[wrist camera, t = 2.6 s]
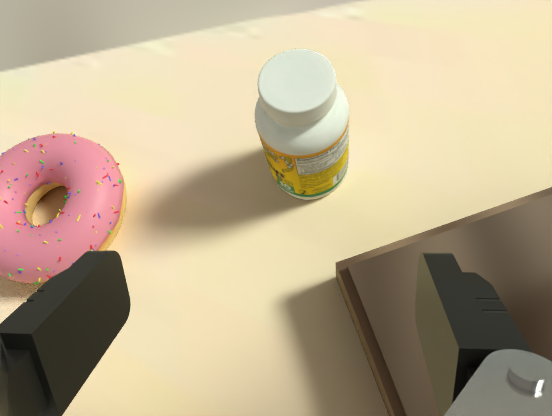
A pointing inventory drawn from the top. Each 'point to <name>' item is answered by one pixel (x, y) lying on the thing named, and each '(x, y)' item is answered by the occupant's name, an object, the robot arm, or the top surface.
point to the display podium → (471, 258)
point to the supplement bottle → (303, 123)
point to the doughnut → (72, 218)
